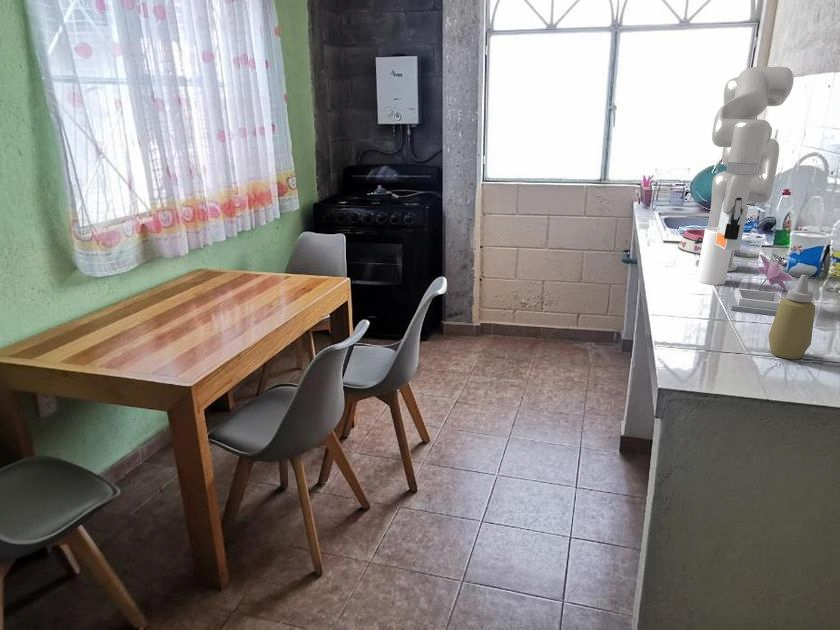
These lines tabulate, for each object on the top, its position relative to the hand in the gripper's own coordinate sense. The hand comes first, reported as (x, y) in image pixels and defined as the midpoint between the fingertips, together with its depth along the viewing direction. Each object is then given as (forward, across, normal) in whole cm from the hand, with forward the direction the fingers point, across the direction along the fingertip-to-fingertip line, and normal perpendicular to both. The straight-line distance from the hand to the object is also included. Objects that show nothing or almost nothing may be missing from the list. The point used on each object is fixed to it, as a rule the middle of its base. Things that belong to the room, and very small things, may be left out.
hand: (729, 235), depth 166 cm
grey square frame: (+18, +4, +10) cm, 20 cm away
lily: (+18, -16, +15) cm, 29 cm away
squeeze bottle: (+18, +40, +11) cm, 45 cm away
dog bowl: (+18, -64, -1) cm, 67 cm away
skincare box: (+4, 0, 0) cm, 4 cm away
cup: (+18, -18, -1) cm, 25 cm away
